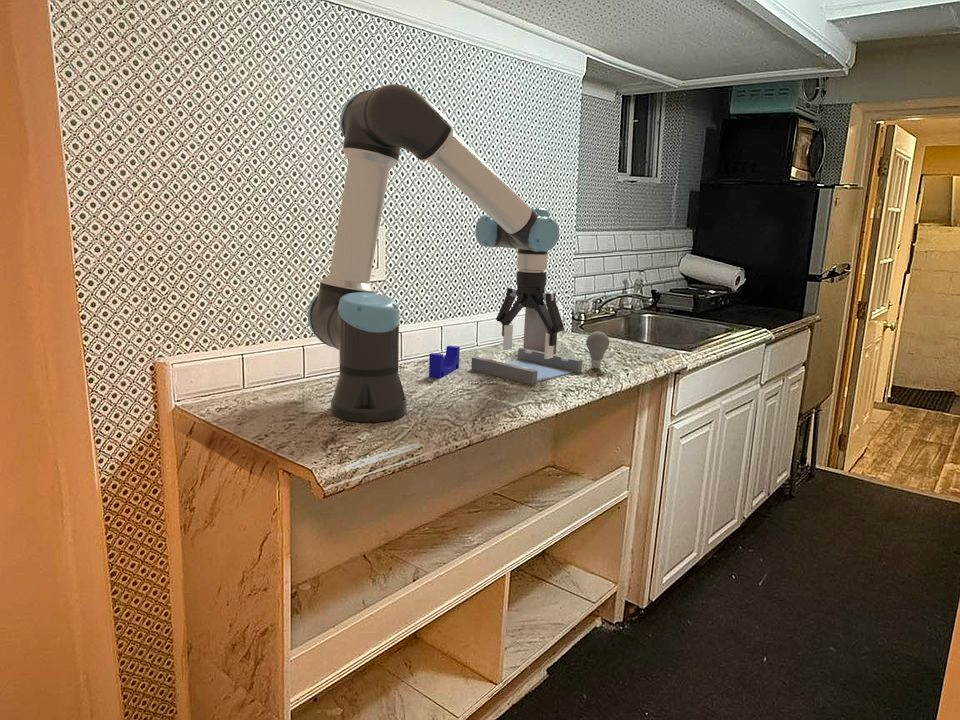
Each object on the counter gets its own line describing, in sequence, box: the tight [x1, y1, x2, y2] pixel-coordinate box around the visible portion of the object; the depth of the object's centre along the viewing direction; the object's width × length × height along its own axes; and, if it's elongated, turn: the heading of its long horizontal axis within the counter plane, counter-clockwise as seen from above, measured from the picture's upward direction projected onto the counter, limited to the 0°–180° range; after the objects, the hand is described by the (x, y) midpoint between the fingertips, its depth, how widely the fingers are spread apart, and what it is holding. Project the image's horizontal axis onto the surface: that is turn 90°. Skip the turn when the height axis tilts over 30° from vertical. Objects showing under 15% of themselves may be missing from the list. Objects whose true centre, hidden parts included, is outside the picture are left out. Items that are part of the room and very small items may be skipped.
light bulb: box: [585, 330, 610, 370], centre depth 181 cm, size 6×6×10 cm
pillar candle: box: [522, 303, 559, 354], centre depth 199 cm, size 10×10×15 cm
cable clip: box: [428, 344, 461, 379], centre depth 171 cm, size 12×4×6 cm, turn 160°
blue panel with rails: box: [470, 347, 583, 386], centre depth 176 cm, size 21×20×3 cm
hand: (527, 353), depth 176 cm, fingers open, 13 cm apart
